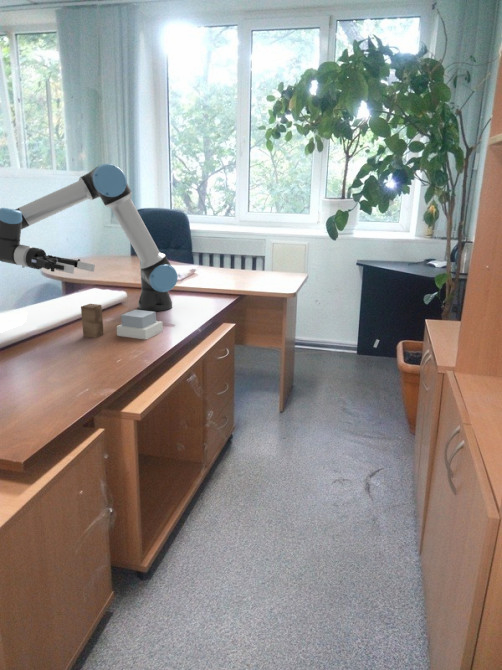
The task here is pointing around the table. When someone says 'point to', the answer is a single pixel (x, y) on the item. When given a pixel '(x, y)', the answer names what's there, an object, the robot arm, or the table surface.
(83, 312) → the walnut block
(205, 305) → the table surface
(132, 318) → the tower top
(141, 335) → the tower base
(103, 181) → the robot arm
